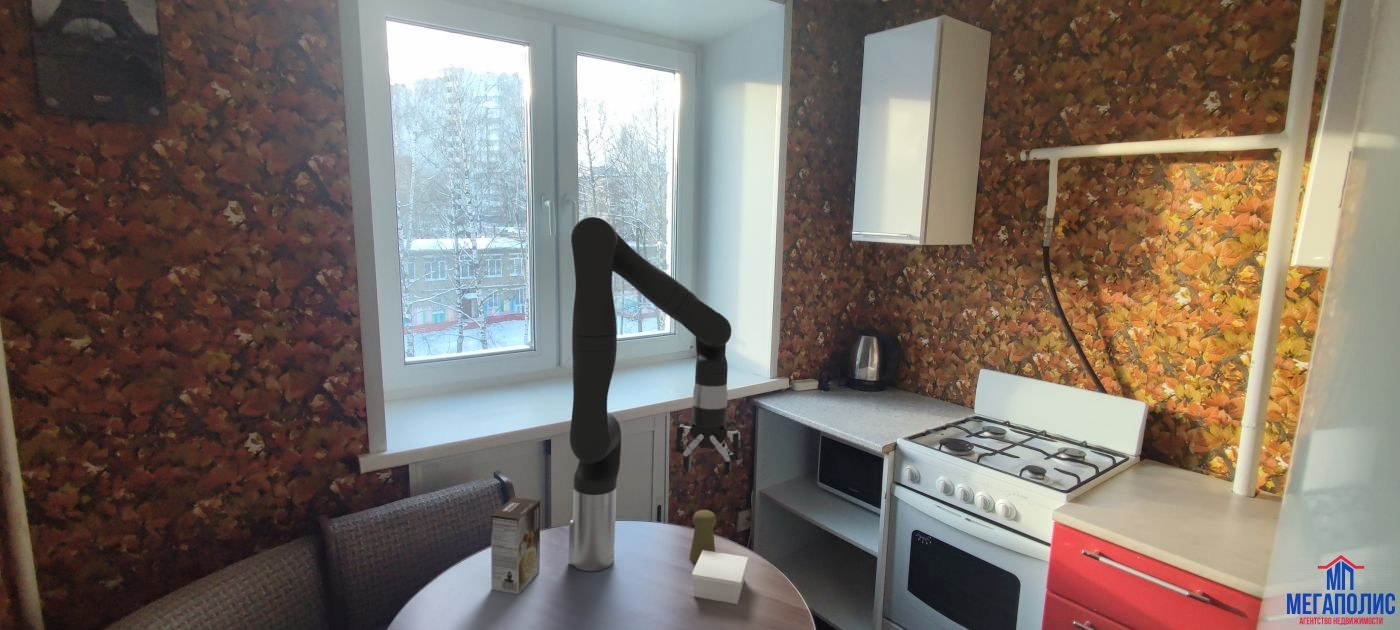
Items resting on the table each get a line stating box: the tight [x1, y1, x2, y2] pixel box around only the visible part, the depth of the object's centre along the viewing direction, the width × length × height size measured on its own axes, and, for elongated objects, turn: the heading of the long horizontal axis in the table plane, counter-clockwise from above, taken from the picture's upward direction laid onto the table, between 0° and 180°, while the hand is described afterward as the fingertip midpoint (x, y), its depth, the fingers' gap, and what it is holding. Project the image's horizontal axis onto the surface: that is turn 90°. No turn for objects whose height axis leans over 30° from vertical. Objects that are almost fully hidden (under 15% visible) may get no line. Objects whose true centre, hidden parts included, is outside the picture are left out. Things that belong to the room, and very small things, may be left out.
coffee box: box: [490, 497, 541, 595], centre depth 125 cm, size 9×6×16 cm
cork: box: [689, 509, 717, 565], centre depth 138 cm, size 6×6×11 cm
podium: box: [691, 550, 749, 605], centre depth 127 cm, size 10×10×5 cm
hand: (706, 473), depth 136 cm, fingers open, 8 cm apart
